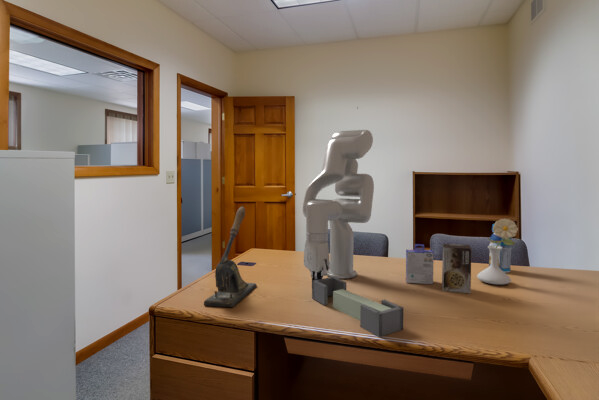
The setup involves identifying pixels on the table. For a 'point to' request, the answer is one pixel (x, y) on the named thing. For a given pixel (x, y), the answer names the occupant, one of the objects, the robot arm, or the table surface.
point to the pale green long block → (353, 303)
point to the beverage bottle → (501, 252)
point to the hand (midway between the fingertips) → (316, 288)
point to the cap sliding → (326, 288)
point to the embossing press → (230, 274)
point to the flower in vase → (493, 271)
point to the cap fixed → (382, 319)
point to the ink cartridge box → (419, 265)
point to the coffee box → (456, 268)
